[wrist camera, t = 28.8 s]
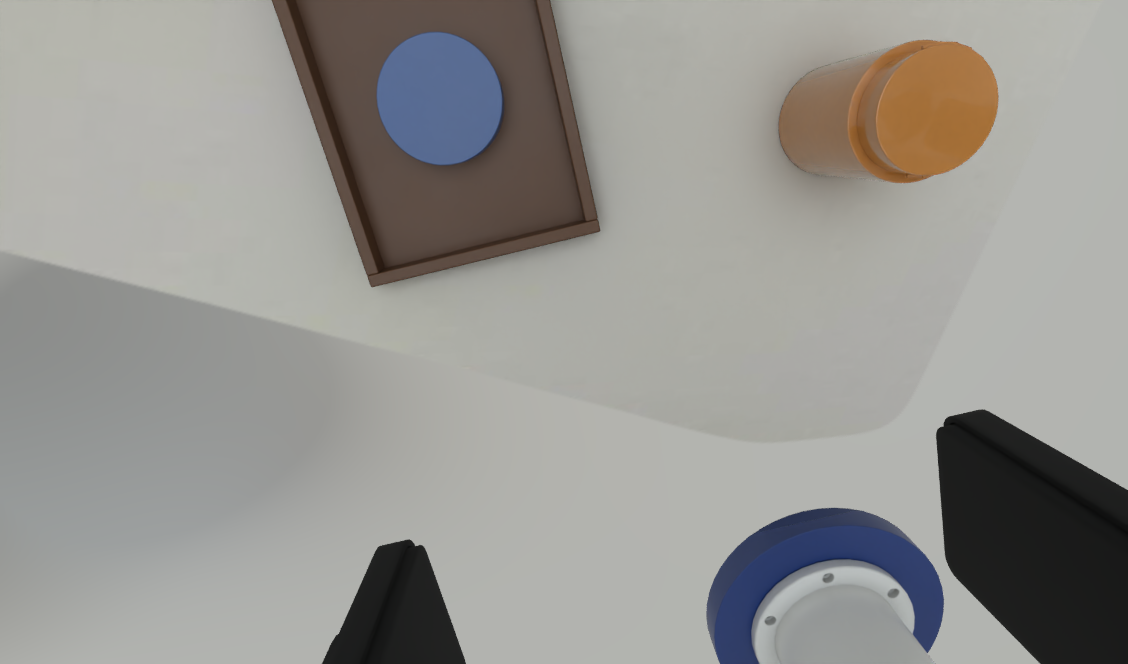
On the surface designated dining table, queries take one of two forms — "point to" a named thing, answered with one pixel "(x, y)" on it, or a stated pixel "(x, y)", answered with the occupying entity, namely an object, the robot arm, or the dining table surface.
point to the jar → (891, 113)
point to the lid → (440, 98)
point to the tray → (443, 192)
